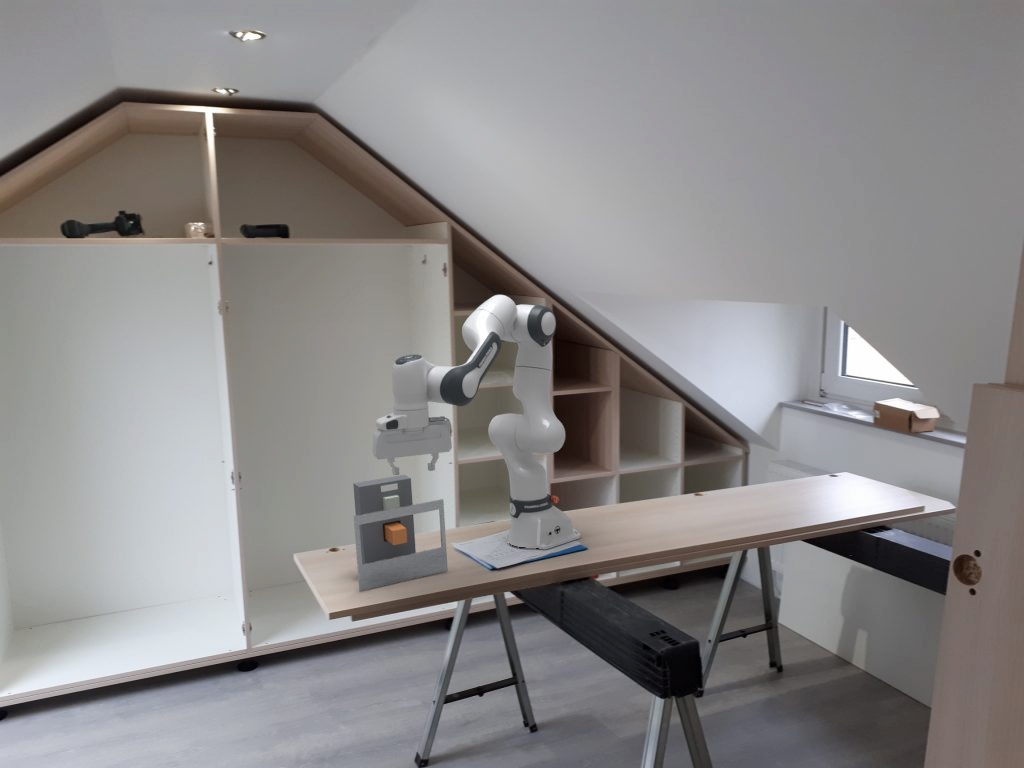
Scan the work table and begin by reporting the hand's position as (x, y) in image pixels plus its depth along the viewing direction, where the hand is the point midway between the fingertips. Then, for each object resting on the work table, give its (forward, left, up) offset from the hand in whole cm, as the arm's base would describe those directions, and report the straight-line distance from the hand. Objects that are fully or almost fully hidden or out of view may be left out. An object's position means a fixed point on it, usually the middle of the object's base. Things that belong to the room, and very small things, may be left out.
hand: (413, 472), depth 216 cm
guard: (+1, -14, -32) cm, 35 cm away
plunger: (+1, -15, -22) cm, 27 cm away
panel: (+2, -20, -32) cm, 38 cm away
